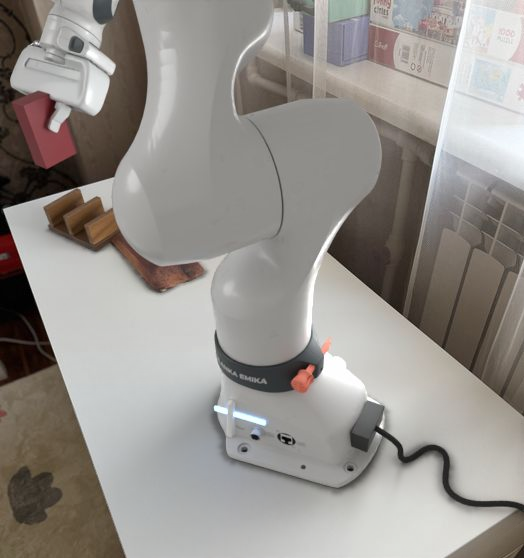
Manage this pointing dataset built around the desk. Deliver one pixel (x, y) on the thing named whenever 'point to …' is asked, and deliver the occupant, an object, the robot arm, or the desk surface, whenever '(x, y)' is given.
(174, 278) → the brown flat bent piece
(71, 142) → the book
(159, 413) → the desk surface
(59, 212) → the book rack
